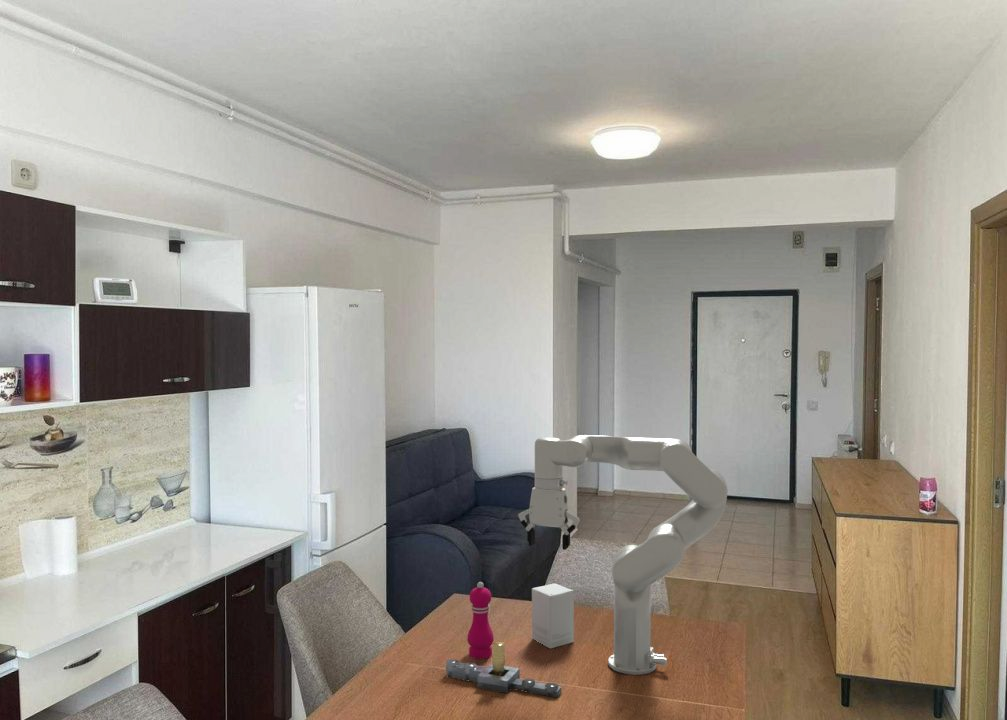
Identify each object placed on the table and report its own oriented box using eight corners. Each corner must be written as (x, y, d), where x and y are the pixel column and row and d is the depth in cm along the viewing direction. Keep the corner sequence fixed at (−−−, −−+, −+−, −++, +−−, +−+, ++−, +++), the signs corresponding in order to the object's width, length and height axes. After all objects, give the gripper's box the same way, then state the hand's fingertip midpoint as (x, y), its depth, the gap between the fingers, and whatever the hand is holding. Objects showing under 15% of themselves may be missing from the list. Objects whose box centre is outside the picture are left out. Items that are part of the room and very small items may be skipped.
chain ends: (564, 688, 191) (564, 674, 191) (553, 702, 184) (553, 687, 184) (453, 668, 203) (453, 655, 203) (439, 680, 196) (439, 666, 196)
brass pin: (506, 682, 195) (506, 643, 194) (501, 687, 192) (501, 647, 192) (495, 680, 196) (495, 641, 196) (490, 685, 193) (490, 645, 193)
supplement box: (575, 642, 221) (575, 590, 221) (550, 649, 216) (550, 596, 216) (555, 632, 228) (555, 582, 228) (530, 639, 223) (530, 587, 223)
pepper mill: (497, 651, 215) (497, 579, 214) (488, 661, 208) (488, 587, 207) (473, 647, 217) (472, 576, 217) (463, 657, 210) (463, 584, 210)
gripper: (583, 483, 209) (583, 546, 209) (523, 479, 216) (523, 540, 216) (574, 488, 202) (574, 553, 202) (513, 483, 209) (513, 546, 209)
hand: (548, 546), depth 209 cm, fingers open, 9 cm apart
